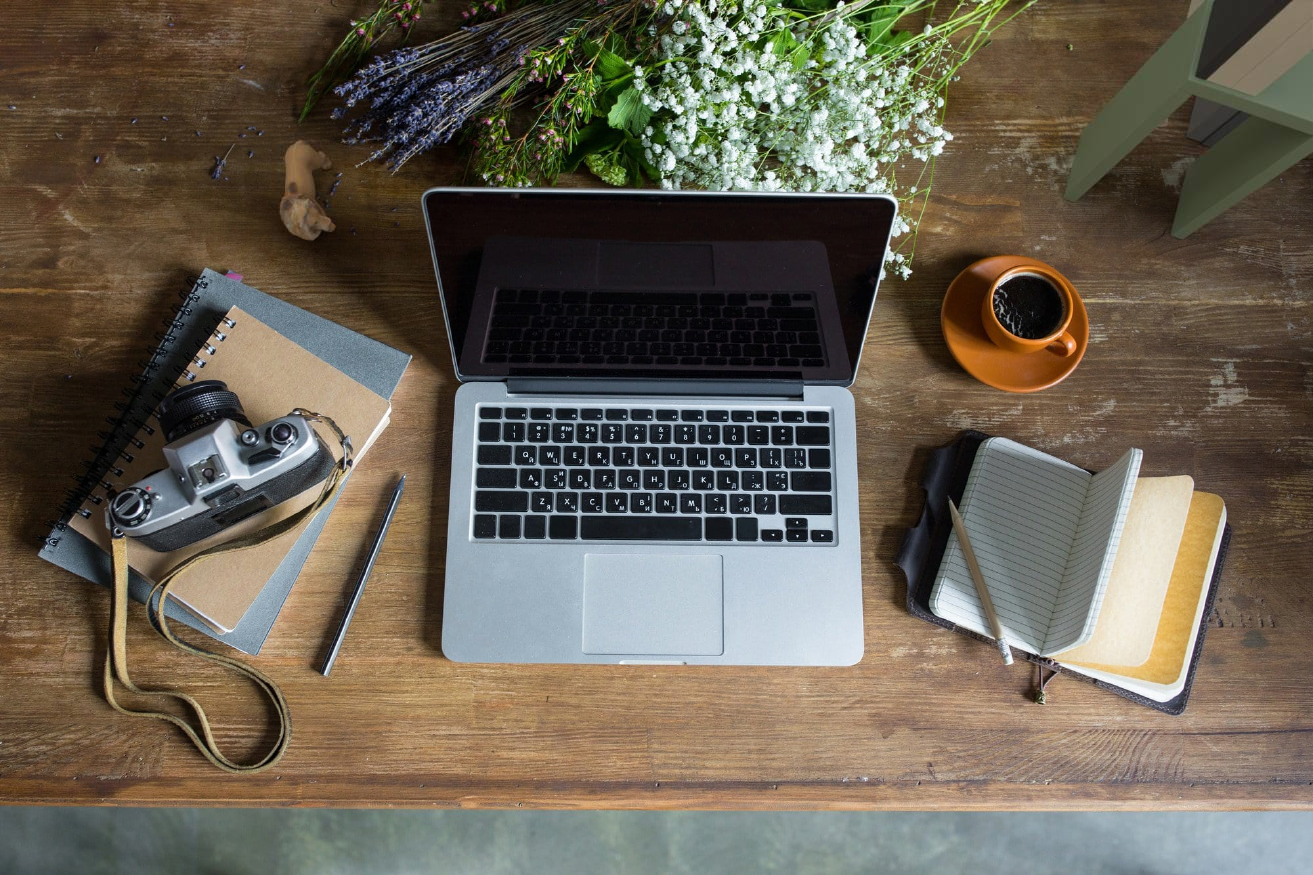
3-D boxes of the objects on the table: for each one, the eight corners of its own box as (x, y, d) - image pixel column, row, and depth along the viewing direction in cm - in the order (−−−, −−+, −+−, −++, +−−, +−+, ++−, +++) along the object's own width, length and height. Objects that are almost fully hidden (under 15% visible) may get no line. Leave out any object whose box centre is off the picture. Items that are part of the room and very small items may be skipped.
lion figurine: (353, 257, 91) (324, 219, 82) (307, 268, 91) (273, 231, 82) (329, 146, 94) (298, 98, 85) (284, 156, 94) (249, 109, 85)
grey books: (1230, 90, 100) (1310, 21, 88) (1216, 150, 98) (1296, 87, 86) (1199, 80, 100) (1275, 10, 88) (1185, 139, 98) (1260, 75, 87)
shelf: (1198, 170, 97) (1360, 45, 76) (1182, 240, 95) (1343, 132, 74) (1082, 130, 98) (1209, -5, 77) (1062, 198, 96) (1188, 79, 74)
